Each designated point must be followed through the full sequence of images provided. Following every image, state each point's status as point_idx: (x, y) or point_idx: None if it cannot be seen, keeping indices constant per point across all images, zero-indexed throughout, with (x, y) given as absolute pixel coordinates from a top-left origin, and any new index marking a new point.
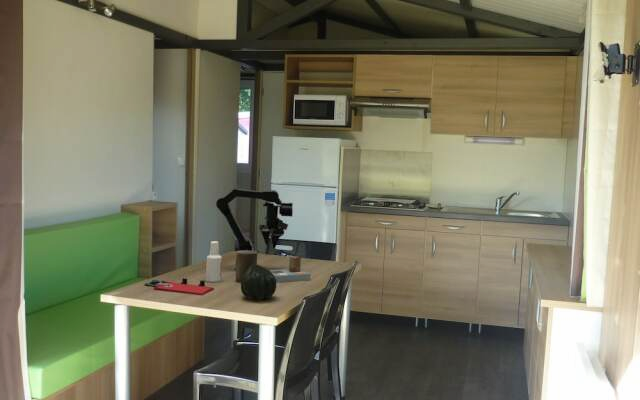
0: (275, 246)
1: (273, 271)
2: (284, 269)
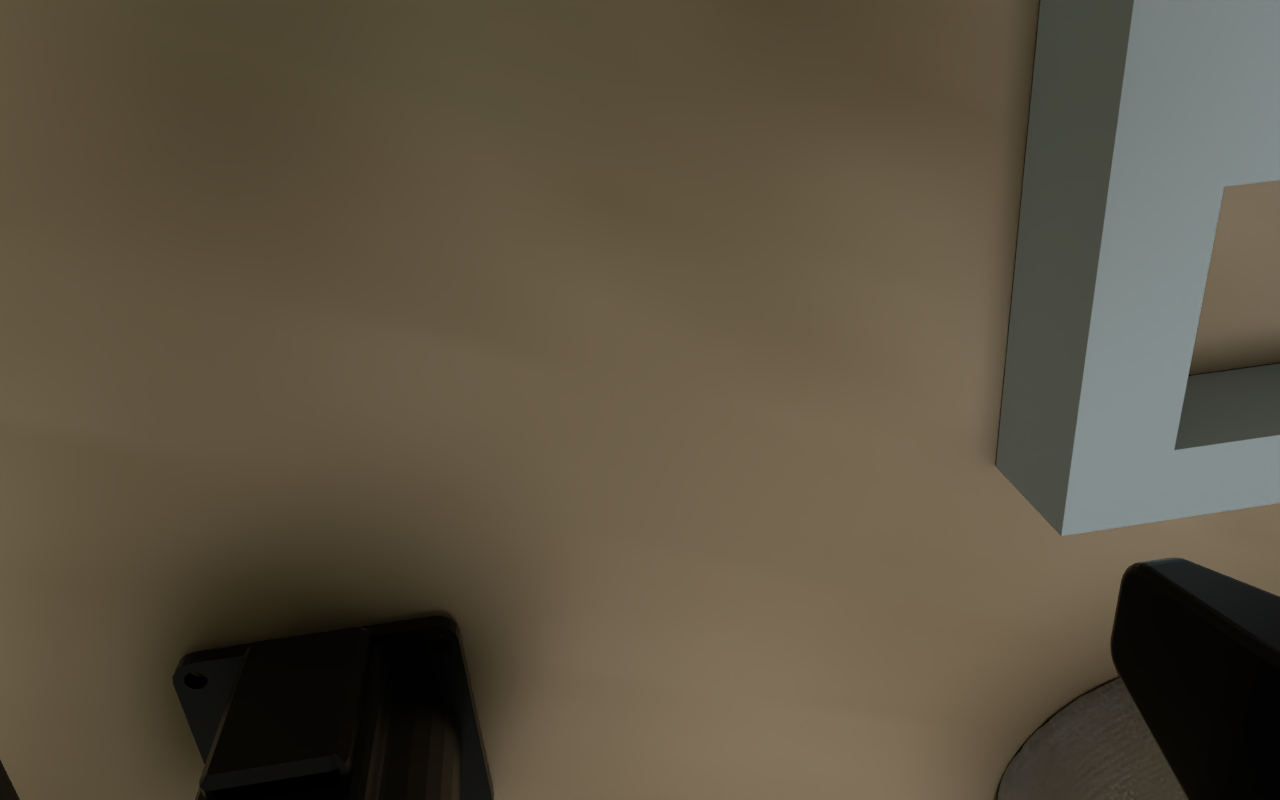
0: (1254, 601)
1: (1183, 372)
2: (1145, 18)
